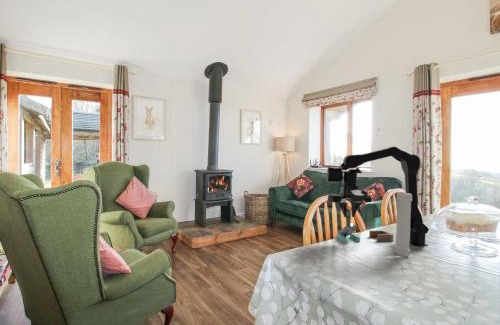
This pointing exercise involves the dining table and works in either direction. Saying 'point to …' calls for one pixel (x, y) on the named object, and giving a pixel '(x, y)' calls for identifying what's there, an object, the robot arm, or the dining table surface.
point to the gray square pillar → (403, 223)
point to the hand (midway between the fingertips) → (348, 217)
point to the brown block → (381, 235)
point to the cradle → (349, 238)
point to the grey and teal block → (347, 230)
